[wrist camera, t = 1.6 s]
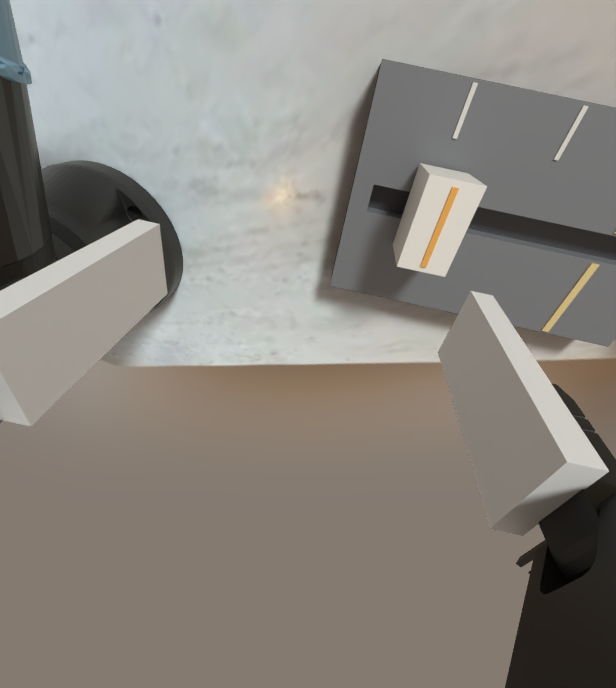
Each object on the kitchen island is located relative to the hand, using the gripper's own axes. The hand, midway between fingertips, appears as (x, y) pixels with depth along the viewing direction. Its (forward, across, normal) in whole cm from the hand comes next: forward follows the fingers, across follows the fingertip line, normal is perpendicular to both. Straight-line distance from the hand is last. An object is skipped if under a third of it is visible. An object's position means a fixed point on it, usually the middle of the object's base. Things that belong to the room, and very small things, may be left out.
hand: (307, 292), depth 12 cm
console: (+20, +14, 0) cm, 24 cm away
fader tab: (+18, +7, 0) cm, 19 cm away
